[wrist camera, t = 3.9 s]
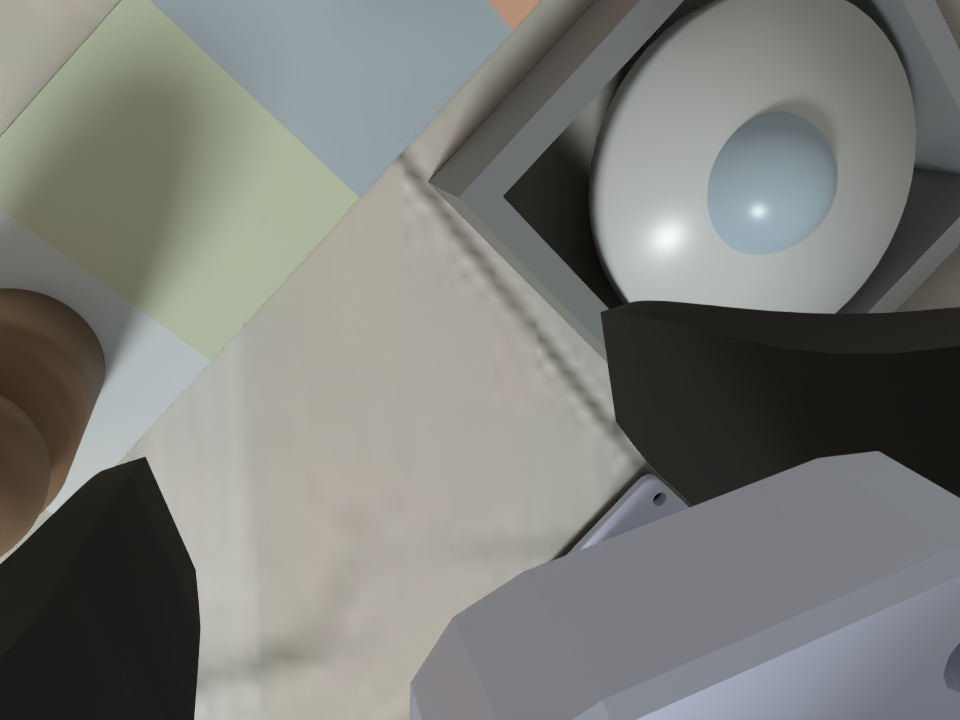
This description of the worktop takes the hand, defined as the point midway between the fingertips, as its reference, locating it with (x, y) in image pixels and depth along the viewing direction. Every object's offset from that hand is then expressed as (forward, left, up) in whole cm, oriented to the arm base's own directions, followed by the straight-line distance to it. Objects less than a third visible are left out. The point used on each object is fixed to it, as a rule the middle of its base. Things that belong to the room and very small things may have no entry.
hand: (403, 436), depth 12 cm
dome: (-7, -10, -10) cm, 16 cm away
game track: (+4, -2, -11) cm, 12 cm away
